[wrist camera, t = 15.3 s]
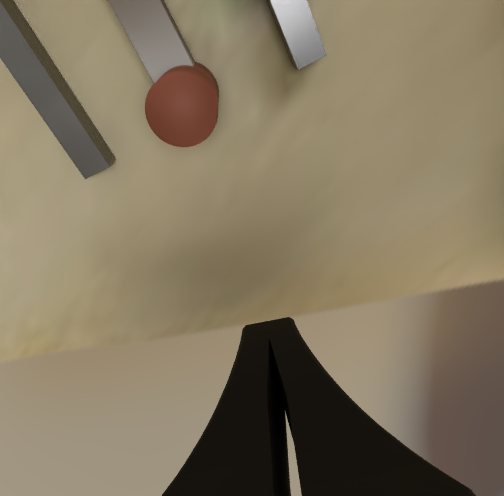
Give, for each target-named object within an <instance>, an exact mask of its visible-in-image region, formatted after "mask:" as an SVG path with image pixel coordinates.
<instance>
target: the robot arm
mask: <svg viewBox="0 0 504 496" xmlns="http://www.w3.org/2000/svg"><path fill="white" fill-rule="evenodd" d="M285 412H286V415H287V419H288V423H289V426H290V430H291V434H292V438H293V441H294V446H295V452H296V459H297V465H298V472H299V479H300V486H301V493H302V496H476V495H475V494H474V493H473V492H472V490H470V489H469V488H468V487H466V486H464V485H463V484H461V483H460V482H458V481H456V480H455V479H453V478H452V477H450V476H448V475H447V474H445V473H444V472H442V471H441V470H439V469H438V468H436V467H435V466H433V465H431V464H430V463H429V462H427V461H426V460H424V459H423V458H422V457H420V456H419V455H417V454H416V453H414V452H413V451H412V450H410V449H409V448H408V447H406V446H405V445H404V444H403V443H401V442H400V441H399V440H397V439H396V438H395V437H394V436H392V435H391V434H390V433H389V432H387V431H386V430H385V429H384V428H382V427H381V426H380V425H379V424H377V423H376V422H375V421H374V420H373V419H372V418H371V417H370V416H368V415H367V414H366V413H365V412H364V411H363V410H362V409H361V408H360V407H359V406H358V405H357V404H356V403H355V402H354V401H353V400H352V399H351V398H350V397H349V396H348V395H347V394H346V393H345V392H344V391H343V390H342V389H341V388H340V387H339V385H338V384H336V382H335V381H334V380H333V379H332V377H331V376H330V375H329V374H328V373H327V371H326V370H325V369H324V368H323V366H322V365H321V364H320V362H319V361H318V360H317V359H316V357H315V356H314V355H313V353H312V352H311V350H310V349H309V347H308V346H307V344H306V343H305V341H304V340H303V338H302V337H301V335H300V333H299V331H298V329H297V327H296V325H295V323H294V320H293V319H291V318H290V317H287V318H282V319H276V320H271V321H266V322H261V323H255V324H250V325H246V326H245V327H244V328H243V331H242V336H241V341H240V345H239V349H238V352H237V356H236V359H235V362H234V365H233V368H232V370H231V373H230V376H229V379H228V381H227V384H226V386H225V389H224V391H223V393H222V395H221V398H220V400H219V402H218V405H217V407H216V409H215V411H214V413H213V415H212V417H211V419H210V421H209V423H208V425H207V427H206V429H205V430H204V432H203V434H202V436H201V438H200V440H199V441H198V443H197V444H196V446H195V448H194V449H193V451H192V453H191V454H190V456H189V458H188V459H187V461H186V462H185V464H184V465H183V467H182V468H181V470H180V471H179V473H178V474H177V476H176V477H175V478H174V480H173V481H172V483H171V484H170V485H169V486H168V488H167V489H166V490H165V492H164V493H163V494H162V496H291V492H290V481H289V480H290V479H289V465H288V464H289V463H288V448H287V433H286V418H285Z"/></svg>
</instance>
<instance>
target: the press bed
mask: <svg viewBox="0 0 504 496" xmlns="http://www.w3.org/2000/svg"><path fill="white" fill-rule="evenodd" d="M108 1H109V3H110V5H111V7H112V8H113V10H114V12H115V14H116V16H117V17H118V19H119V21H120V23H121V25H122V26H123V28H124V30H125V32H126V34H127V35H128V37H129V39H130V41H131V42H132V44H133V46H134V48H135V50H136V51H137V53H138V55H139V57H140V59H141V60H142V62H143V64H144V66H145V68H146V69H147V71H148V73H149V75H150V77H151V78H152V80H153V82H154V85H153V86H152V87H151V89H150V90H149V92H148V94H147V98H146V102H145V113H146V118H147V121H148V124H149V126H150V127H151V129H152V130H153V132H154V133H155V134H156V135H157V136H158V137H159V138H160V139H161V140H163V141H164V142H166V143H168V144H171V145H173V146H178V147H189V146H194V145H196V144H199V143H201V142H202V141H204V140H205V139H206V138H207V137H208V136H209V135H210V134H211V133H212V131H213V129H214V127H215V125H216V122H217V117H218V98H219V90H218V85H217V82H216V79H215V77H214V76H213V74H212V73H211V72H210V71H209V70H208V69H207V68H206V67H205V66H203V65H201V64H199V63H197V62H195V61H194V59H193V57H192V55H191V53H190V51H189V49H188V47H187V46H186V44H185V42H184V40H183V38H182V36H181V34H180V32H179V30H178V28H177V26H176V24H175V22H174V20H173V18H172V16H171V14H170V12H169V10H168V8H167V6H166V4H165V2H164V0H108Z"/></svg>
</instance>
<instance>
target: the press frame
mask: <svg viewBox="0 0 504 496" xmlns="http://www.w3.org/2000/svg"><path fill="white" fill-rule="evenodd" d="M267 2H268V4H269V7H270V9H271V11H272V14H273V16H274V19H275V21H276V24H277V26H278V29H279V31H280V34H281V36H282V39H283V41H284V44H285V46H286V48H287V51H288V53H289V56H290V58H291V61H292V63H293V66H294V67H295V68H296V69H298V70H299V69H301V68H303V67H305V66H307V65H309V64H311V63H313V62H315V61H316V60H318V59H320V58H322V57H324V56H326V55H327V54H326V51H325V49H324V46H323V43H322V40H321V38H320V35H319V32H318V30H317V27H316V24H315V21H314V19H313V16H312V13H311V10H310V8H309V5H308V2H307V0H267ZM0 58H1V60H2V61H3V62H4V64H5V65H6V67H7V68H8V70H9V71H10V72H11V74H12V75H13V77H14V78H15V80H16V81H17V82H18V84H19V85H20V87H21V88H22V90H23V91H24V92H25V94H26V95H27V97H28V98H29V100H30V101H31V102H32V104H33V105H34V107H35V108H36V110H37V111H38V112H39V114H40V115H41V117H42V118H43V120H44V121H45V122H46V124H47V125H48V127H49V128H50V130H51V131H52V132H53V134H54V135H55V137H56V138H57V140H58V141H59V142H60V144H61V145H62V147H63V148H64V150H65V151H66V152H67V154H68V155H69V157H70V158H71V160H72V161H73V162H74V164H75V165H76V167H77V168H78V170H79V171H80V172H81V174H82V175H83V177H84V178H85V179H87V178H89V177H91V176H93V175H94V174H96V173H98V172H100V171H102V170H104V169H106V168H108V167H110V165H111V164H112V163H113V161H114V160H115V159H116V158H115V157H114V155H113V154H112V152H111V151H110V149H109V148H108V146H107V145H106V143H105V141H104V140H103V138H102V137H101V135H100V134H99V132H98V131H97V129H96V128H95V126H94V125H93V123H92V121H91V120H90V118H89V117H88V115H87V114H86V112H85V111H84V109H83V108H82V106H81V105H80V103H79V101H78V100H77V98H76V97H75V95H74V94H73V92H72V91H71V89H70V88H69V86H68V84H67V83H66V81H65V80H64V78H63V77H62V75H61V74H60V72H59V71H58V69H57V68H56V66H55V64H54V63H53V61H52V60H51V58H50V57H49V55H48V54H47V52H46V51H45V49H44V48H43V46H42V44H41V43H40V41H39V40H38V38H37V37H36V35H35V34H34V32H33V31H32V29H31V28H30V26H29V24H28V23H27V21H26V20H25V18H24V17H23V15H22V14H21V12H20V11H19V9H18V7H17V6H16V4H15V3H14V1H13V0H0Z"/></svg>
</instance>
